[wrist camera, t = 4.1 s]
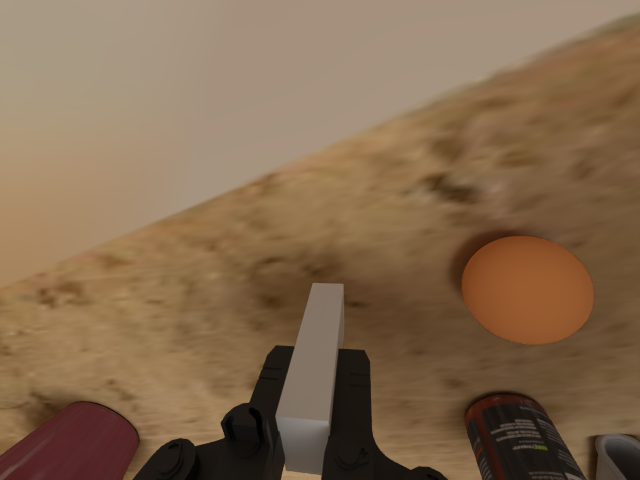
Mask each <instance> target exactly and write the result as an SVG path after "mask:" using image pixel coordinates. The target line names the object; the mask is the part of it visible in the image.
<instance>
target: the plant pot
mask: <svg viewBox="0 0 640 480" xmlns="http://www.w3.org/2000/svg"><path fill="white" fill-rule="evenodd" d="M138 443H139V439H138V435H137V433H136V431H135V430H134V428H133V427H132V426H131V425H130V424H129V423H128V422H127V421H126V420H125V419H124V418H122V417H121V416H120V415H118V414H116V413H115V412H113V411H111V410H109V409H107V408H105V407H103V406H100V405H98V404H94V403H89V402H76V403H73V404H71V405H69V406H68V407H66V408H65V409H63V410H62V411H61V412H59V413H58V414H57V415H55V416H54V417H53V418H51V419H50V420H48V421H47V422H46V423H44V424H43V425H41V426H40V427H39V428H37V429H36V430H34V431H33V432H32V433H30V434H29V435H28V436H26V437H25V438H23V439H22V440H21V441H19V442H18V443H17V444H15V445H14V446H13V447H11V448H10V449H9V450H7V451H6V452H5V453H3V454H2V455H1V456H0V480H123V478H124V475H125V473H126V471H127V469H128V466H129V464H130V462H131V460H132V457H133V455H134V453H135V451H136V449H137V446H138Z"/></svg>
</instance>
